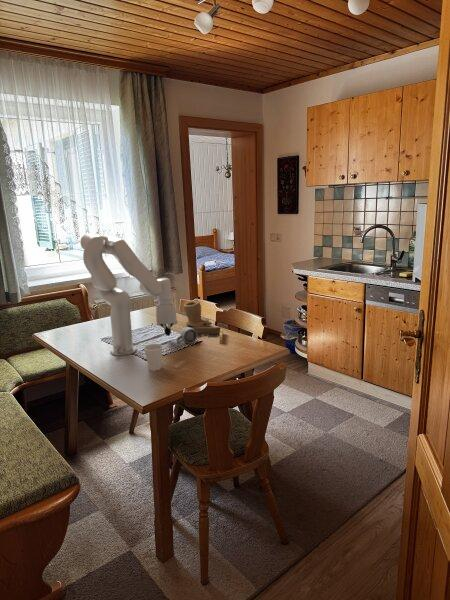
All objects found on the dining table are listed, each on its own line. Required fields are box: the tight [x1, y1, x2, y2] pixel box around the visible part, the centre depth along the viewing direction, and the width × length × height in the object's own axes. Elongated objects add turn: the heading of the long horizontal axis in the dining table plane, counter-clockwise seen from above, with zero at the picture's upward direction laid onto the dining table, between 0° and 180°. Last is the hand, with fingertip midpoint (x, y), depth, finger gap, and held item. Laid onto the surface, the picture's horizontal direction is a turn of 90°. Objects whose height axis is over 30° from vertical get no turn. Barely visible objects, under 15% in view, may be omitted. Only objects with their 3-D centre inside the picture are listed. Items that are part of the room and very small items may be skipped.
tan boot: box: [183, 300, 213, 328], centre depth 243 cm, size 15×12×15 cm
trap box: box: [191, 326, 224, 345], centre depth 220 cm, size 17×20×4 cm
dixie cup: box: [143, 343, 164, 372], centre depth 182 cm, size 8×8×10 cm
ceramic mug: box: [175, 326, 198, 344], centre depth 217 cm, size 11×8×8 cm
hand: (168, 335), depth 218 cm, fingers closed
